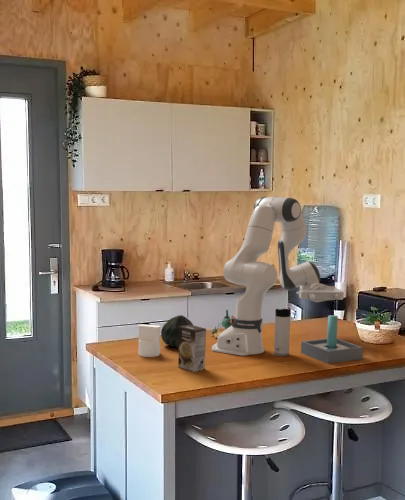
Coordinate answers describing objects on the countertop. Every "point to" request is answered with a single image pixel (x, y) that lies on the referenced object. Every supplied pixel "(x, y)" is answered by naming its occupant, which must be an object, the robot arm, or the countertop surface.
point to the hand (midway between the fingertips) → (326, 297)
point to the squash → (173, 330)
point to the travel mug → (282, 332)
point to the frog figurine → (225, 324)
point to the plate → (324, 346)
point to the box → (331, 351)
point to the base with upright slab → (149, 340)
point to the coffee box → (192, 347)
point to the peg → (332, 331)
